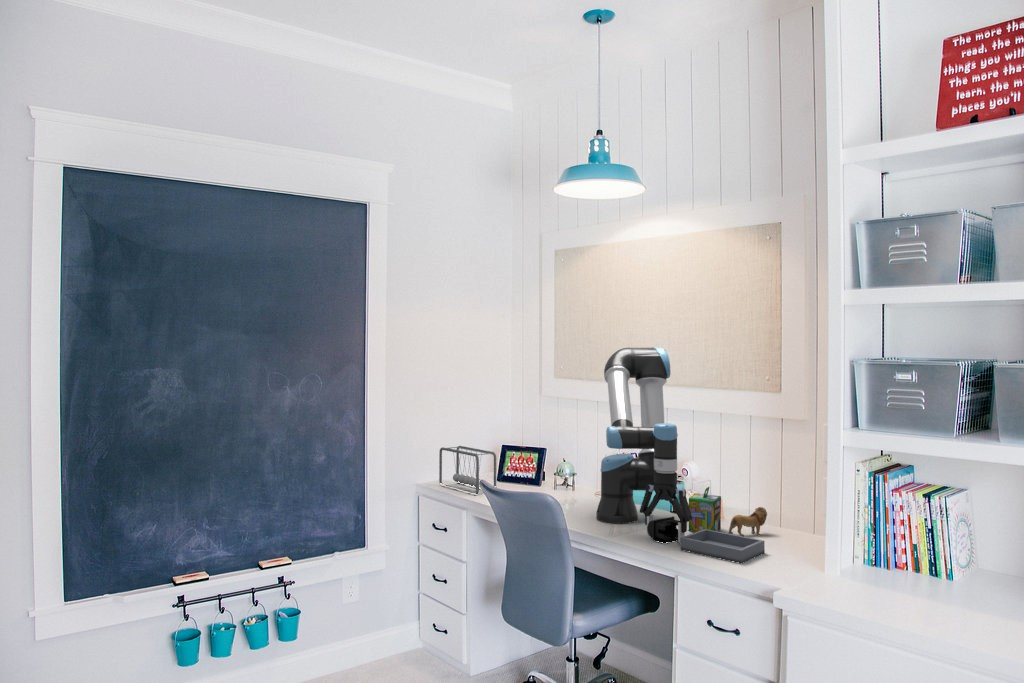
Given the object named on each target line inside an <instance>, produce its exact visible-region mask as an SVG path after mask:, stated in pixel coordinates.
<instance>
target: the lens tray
mask: <svg viewBox="0 0 1024 683" xmlns="http://www.w3.org/2000/svg"><path fill="white" fill-rule="evenodd" d="M728 533H729V532H723V531H712V530H707V529H703V530H701V531H698V532H693V533H690V534H687V535H685V536H684V537H681V538H680V543H679V544H680V547H679V550H680V549H681V550H680V551H683V550H685V551H684V552H687V551H690V552H689V553H691V552H694V553H693V554H696V553H698V554H697V555H700V554H702V555H701V556H705V555H706V556H705V557H709V556H711V557H710V558H714V557H716V558H715V559H718V558H721V559H720V560H723V559H725V560H724V561H727V560H730V561H729V562H732V561H734V562H733V563H736V562H739V563H738V564H741V563H742V564H744V563H746V562H749V561H750V559H751V560H753V559H754V557H755V558H757V557H760V556H762V555H763V554H764V555H765V540H763V539H759V538H752V537H746V536H744V537H743V536H740V535H739V534H737V535H736V534H734V533H733V534H728ZM761 554H762V555H761ZM759 555H760V556H759ZM752 558H753V559H752ZM748 560H749V561H748ZM745 561H746V562H745ZM743 562H744V563H743Z"/></svg>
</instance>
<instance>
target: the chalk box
mask: <svg viewBox="0 0 1024 683" xmlns="http://www.w3.org/2000/svg"><path fill="white" fill-rule="evenodd" d="M709 490H710V486H707V487H706V488H705V490H704V493H697V492H695V493H694V494H693V495H691V496H690V497H688V505H689V508H690V511H691V515H692V518H693V519H692V520H691V521H688V532H693V533H695V532H698V531H701V530H703V529H707V530H712V531H718V532H720V530H721V528H722V526H721V522H722V520H721V519H722V515H721V514H722V496H720V495H714V494H709Z"/></svg>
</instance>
